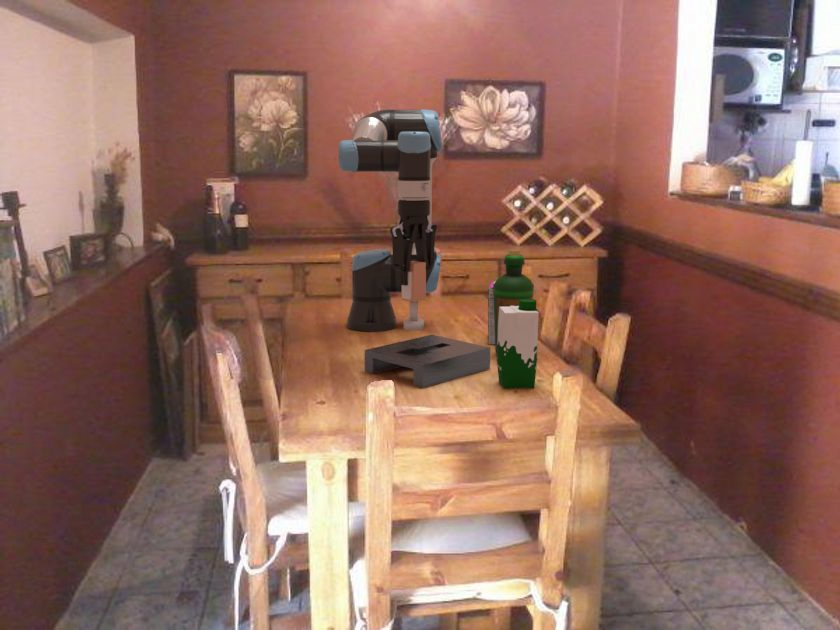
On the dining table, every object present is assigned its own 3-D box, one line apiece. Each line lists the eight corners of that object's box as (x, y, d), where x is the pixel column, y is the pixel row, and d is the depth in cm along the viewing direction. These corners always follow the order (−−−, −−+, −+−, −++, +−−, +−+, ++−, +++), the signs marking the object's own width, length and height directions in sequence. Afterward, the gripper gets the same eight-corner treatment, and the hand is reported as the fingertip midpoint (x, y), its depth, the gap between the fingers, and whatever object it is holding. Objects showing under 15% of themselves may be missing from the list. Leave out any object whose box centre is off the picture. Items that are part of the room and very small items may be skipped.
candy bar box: (491, 335, 246) (492, 280, 242) (508, 336, 245) (509, 281, 242) (486, 344, 235) (487, 287, 232) (504, 345, 234) (505, 287, 231)
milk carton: (539, 389, 193) (542, 303, 189) (500, 389, 192) (502, 304, 188) (531, 378, 202) (533, 296, 198) (493, 379, 201) (495, 297, 197)
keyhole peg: (399, 328, 203) (399, 262, 199) (413, 325, 206) (413, 260, 203) (413, 331, 199) (413, 264, 196) (427, 328, 203) (428, 262, 199)
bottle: (505, 361, 217) (508, 253, 211) (484, 352, 226) (486, 249, 221) (539, 357, 222) (543, 251, 216) (517, 348, 231) (520, 247, 225)
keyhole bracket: (364, 371, 207) (364, 349, 206) (432, 354, 224) (432, 334, 223) (422, 388, 193) (422, 365, 192) (489, 368, 210) (490, 347, 209)
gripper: (398, 201, 188) (399, 304, 193) (450, 198, 200) (449, 295, 205) (376, 199, 193) (376, 299, 198) (427, 196, 205) (427, 291, 210)
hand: (413, 297), depth 201 cm, fingers closed on keyhole peg, 4 cm apart
